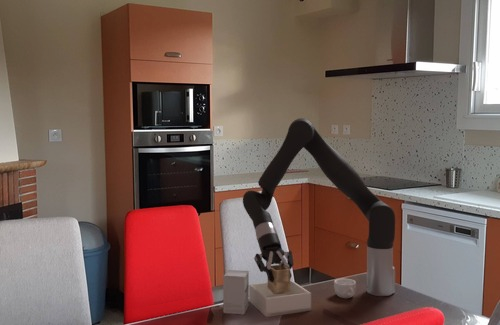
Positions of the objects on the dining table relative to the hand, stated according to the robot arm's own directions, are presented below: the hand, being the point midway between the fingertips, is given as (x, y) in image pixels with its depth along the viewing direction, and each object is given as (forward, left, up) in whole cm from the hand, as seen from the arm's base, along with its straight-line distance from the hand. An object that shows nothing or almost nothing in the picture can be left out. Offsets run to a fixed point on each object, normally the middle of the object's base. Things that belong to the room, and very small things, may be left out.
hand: (280, 280), depth 170 cm
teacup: (-26, -1, -10) cm, 28 cm away
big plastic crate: (0, -2, -10) cm, 10 cm away
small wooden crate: (0, -2, -4) cm, 5 cm away
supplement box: (+15, -3, -10) cm, 18 cm away
